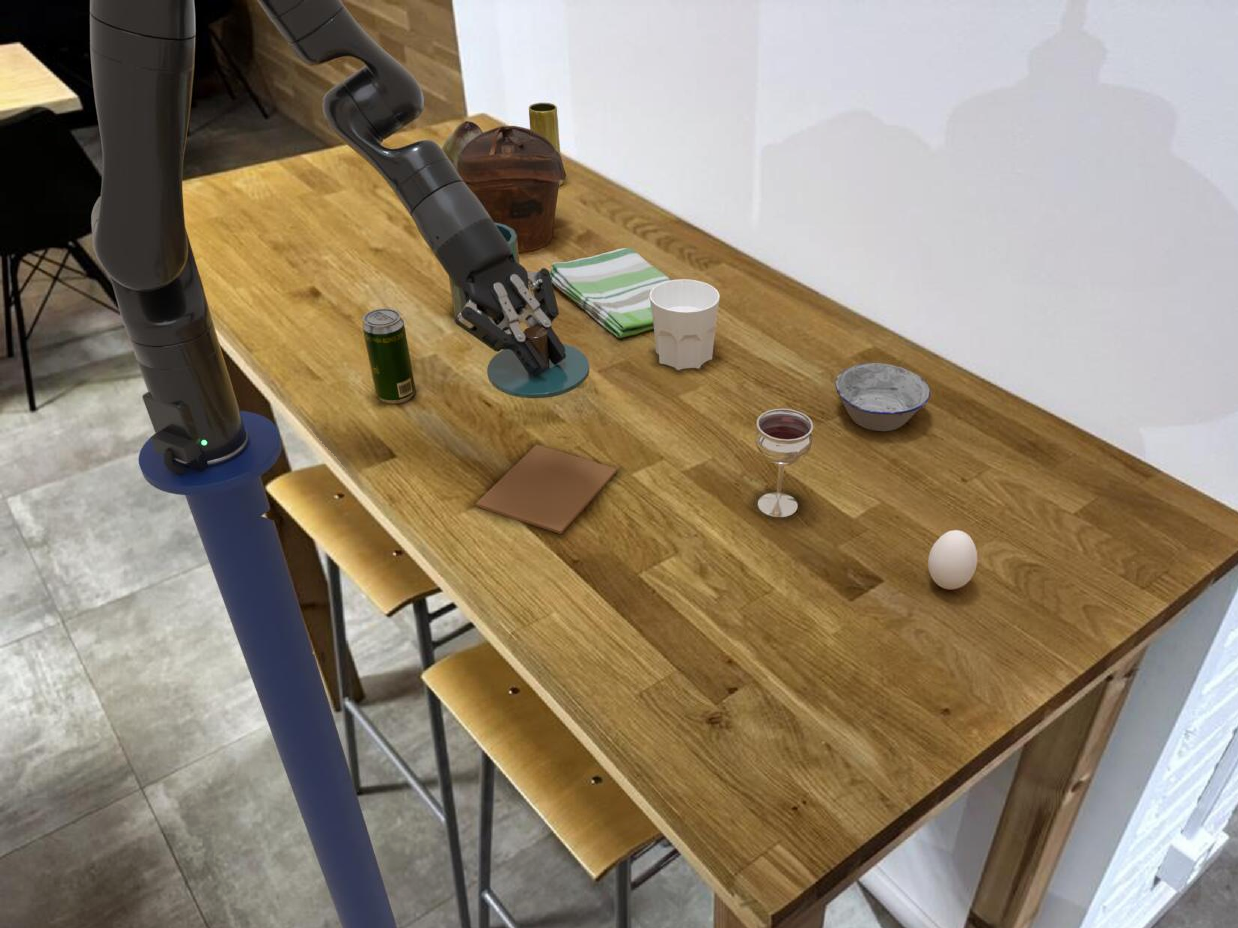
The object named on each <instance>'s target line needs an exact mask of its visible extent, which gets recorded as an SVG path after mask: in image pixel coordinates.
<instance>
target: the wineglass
mask: <svg viewBox="0 0 1238 928" xmlns="http://www.w3.org/2000/svg"><path fill="white" fill-rule="evenodd" d="M756 426H757V429H756V432H755V437H754V442H755V446H756V449H757V451H758V453H759V455H761V457H763V458H764V459H765V460H766V461H768V462H769V463H771V464H772V465H776V466H777V479H776V480H777V482H776V483H777V484H776V492H768V493H766V494H764V495H762V496H761V497H759V499H758V501H757V507H758V509H759V510H760V511H761V512H762V513H763V514H765V515H767V516H770V517H773V518H786V517H790V516H791V515H793V514H794V513H795V512H796V511H797V510H798V505H799V504H798V502H797V500H796V499H795V498H794V497H793V496H791V495H789V494H787V493H783V492H782V487H783V479H784V478H783V477H784V472H785V471H784V470H785V466H791V465H794V464H796V463H798V462H800V461H801V460H803V459H804V458H806V456H807V455H808V453H809V452H810V449H811V447H812V444H813V434H812V431H813V430H814V423H813V422H812V419H811V418H810V417H809V416H808V415H806V414H805V413H802V412H801V411H799V410H794V409H791V408H773V409H770V410H767V411H764V412H763V413H762V414H760V415H759V417H758V418H757V419H756Z"/></svg>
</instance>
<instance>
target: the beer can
mask: <svg viewBox="0 0 1238 928" xmlns="http://www.w3.org/2000/svg"><path fill="white" fill-rule="evenodd" d="M361 327H362V333H363V337H364V342H365V347H366V352H367V353H366V354H367V357H368V362H369V367H370V371H371V376H372V382H373V388H374V391H375V395H376V397H378V399H379V400H380V401H381V402H383V403H385V404H389V405H396V404H398V405H399V404H402V403H406V402H408V401H409V400H411V399H412V398H413V396H414V395H415V393H416V383H415V379H414V373H413V367H412V361H411V355H410V349H409V344H408V343H409V342H408V338H407V332H406V327H405V321H404V319H403V318H402V314H401V313H400V312H399V311H398V310H396V309H393V308H377V309H373V310H370V311H368V312H366V313H365V314H364V315H363V317H362V325H361Z"/></svg>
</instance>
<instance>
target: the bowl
mask: <svg viewBox="0 0 1238 928" xmlns="http://www.w3.org/2000/svg"><path fill="white" fill-rule="evenodd" d="M834 388H835V389H836V393H837V395H838V396H839V399H840V400H841V402H842V403H843V406H844V408H845V410H846V412H847V414H848V415H849V417H850V420H852V421H853V422H854V423H855V424H856V425H858V426H860V427H861V428H864V429H866V430H867V429H868V430H871V431H875V432H889V431H894V430H897V429H900V428H901V427H903V426H904V425H905V424H907V422H908V421H909V420H911V418H912V417H913V416H914V415H915V414H916V413H917V412H918V411H919V410H920V409H922V408H923V407H924V406H925V405H926V404H927V403H928V401H929V400H930V397H931V389H930V387H929V384H928V382H926V380H925V381H924V379H923V378H922V377H921V376H920V375H918V374H916V373H915V372H913V371H910V370H908V369H906V368H904V367H902V366H897V365H894V364H889V363H881V362H868V363H862V364H857V365H853V366H851V367H849V368H847V369H845V370H843V371H842V372H841V373H839V374H837V375H836V377H835V379H834Z"/></svg>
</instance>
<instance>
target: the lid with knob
mask: <svg viewBox="0 0 1238 928" xmlns="http://www.w3.org/2000/svg"><path fill="white" fill-rule="evenodd" d="M523 333H524V335H525V337H526V339H525V341H527V340H529V341H530V342H531V344H532V345H533V347H534V348H535V349H536V351H537V352H538V354H539V355H540V357H541V358H542V360H543V361H544V363H545V364H546V367H547V368H546V370H544V371H543V372H542V373H541V374H539V375H537V376H534V375H533V374H532V373H529V372H528V371H526V369H525V368H524V366H523V365H522V363H521V362H520V361H519V359H518V358H517V356H516V355H515V353H514V352H513V351H512V350H510V349H504V350H500V351H498V352H497V353H496V354H495V355H494V356H493V357H492V358H491V359H490V360H489V362H488V364H487V368H486V373H487V379H488V381H489V383H490V384H491V385H492V387H494V388H495V389H496V390H498V391H500V392H501V393H503V394H506V395H509V396H511V397H515V398H516V397H517V398H521V399H522V398H523V399H546V398H553V397H558V396H561V395H564V394H567V393H569V392H571V391H573V390H575V389H576V388H579V387H580V386H581V385H582V384H583V383H584V382H585V381H586V380H587V378H588V377H589V373H590V362H589V359H588V357H587V356H586V354H585V353H583V352H582V351H581V350H580V349H578V348H576V347H574V346H572V345H569V344H567V343H563V342H561V343H562V344H563V346H564V347H565V354H566V358H564V359H563V360H562V361H561V362H559V363H558V364H556V365H554V364H553V363H552V362H551V361H550V359H549V352H548V341H547V331H546V329H545V328H543V327H539V326H533V327H526V328H525V329H524V330H523Z"/></svg>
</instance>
